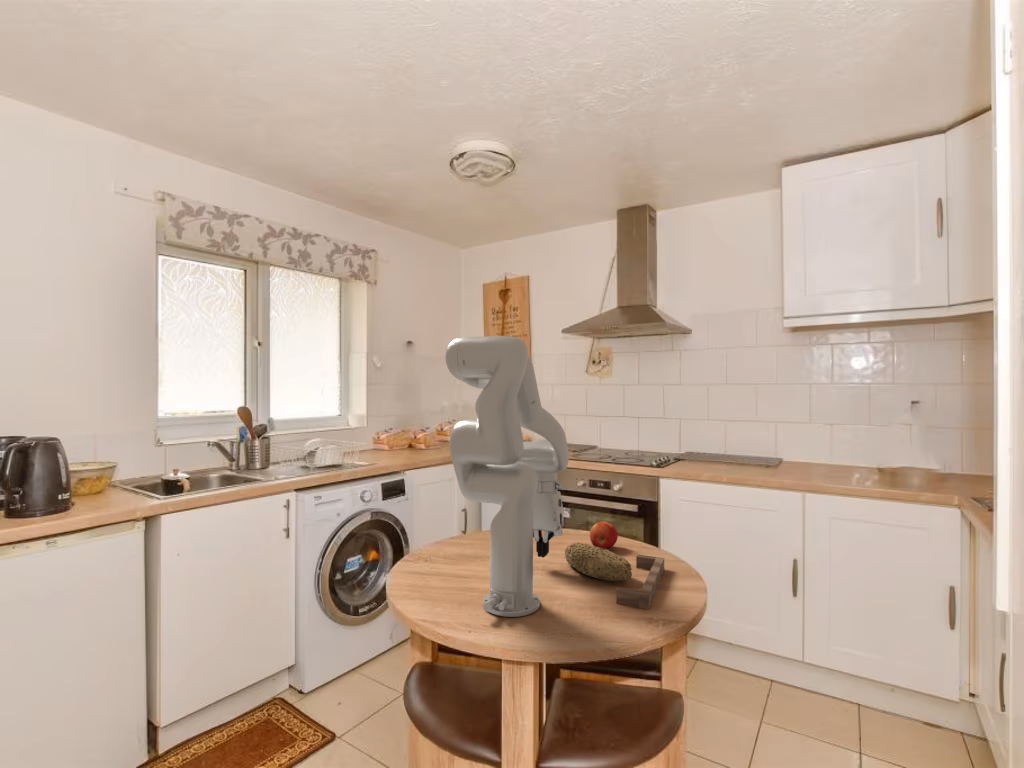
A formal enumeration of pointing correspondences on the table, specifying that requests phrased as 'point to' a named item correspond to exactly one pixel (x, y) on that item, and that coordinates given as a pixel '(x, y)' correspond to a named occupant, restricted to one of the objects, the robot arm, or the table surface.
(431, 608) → the table surface
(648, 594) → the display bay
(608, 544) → the apple
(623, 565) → the sponge
